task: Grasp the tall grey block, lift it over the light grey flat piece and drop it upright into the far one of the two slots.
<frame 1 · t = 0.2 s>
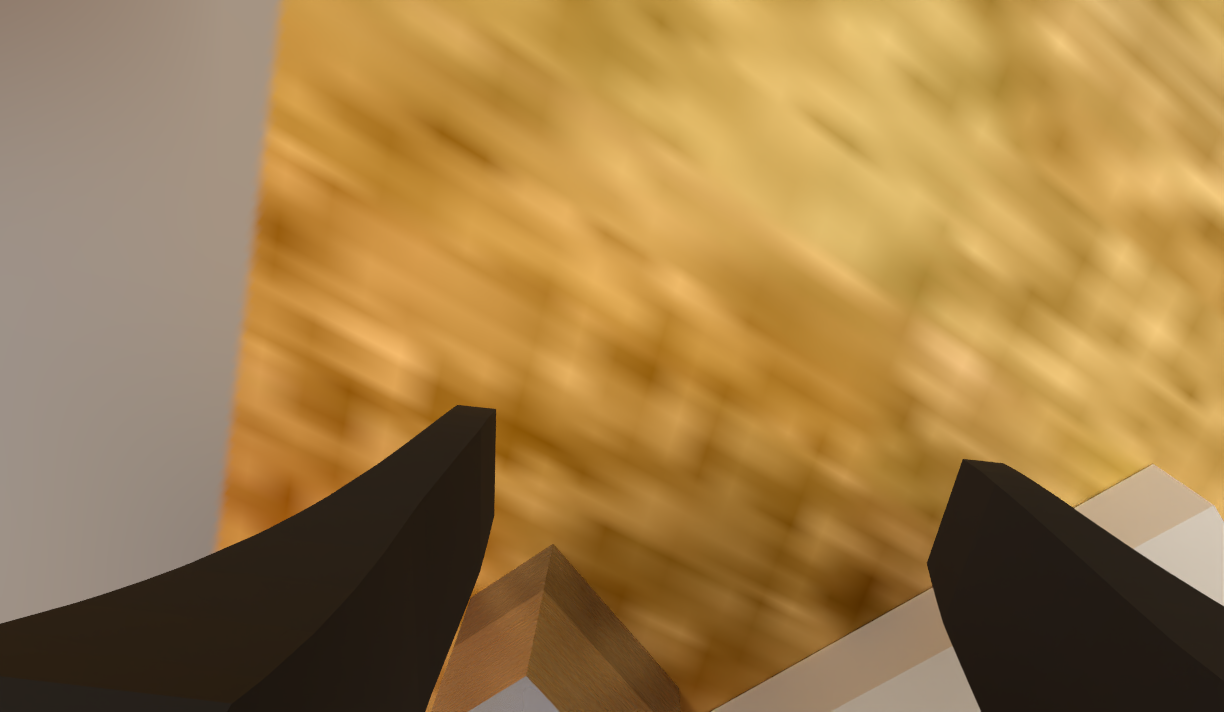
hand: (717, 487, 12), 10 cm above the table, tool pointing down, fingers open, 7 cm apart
tall grey block: (576, 642, 25), on the table
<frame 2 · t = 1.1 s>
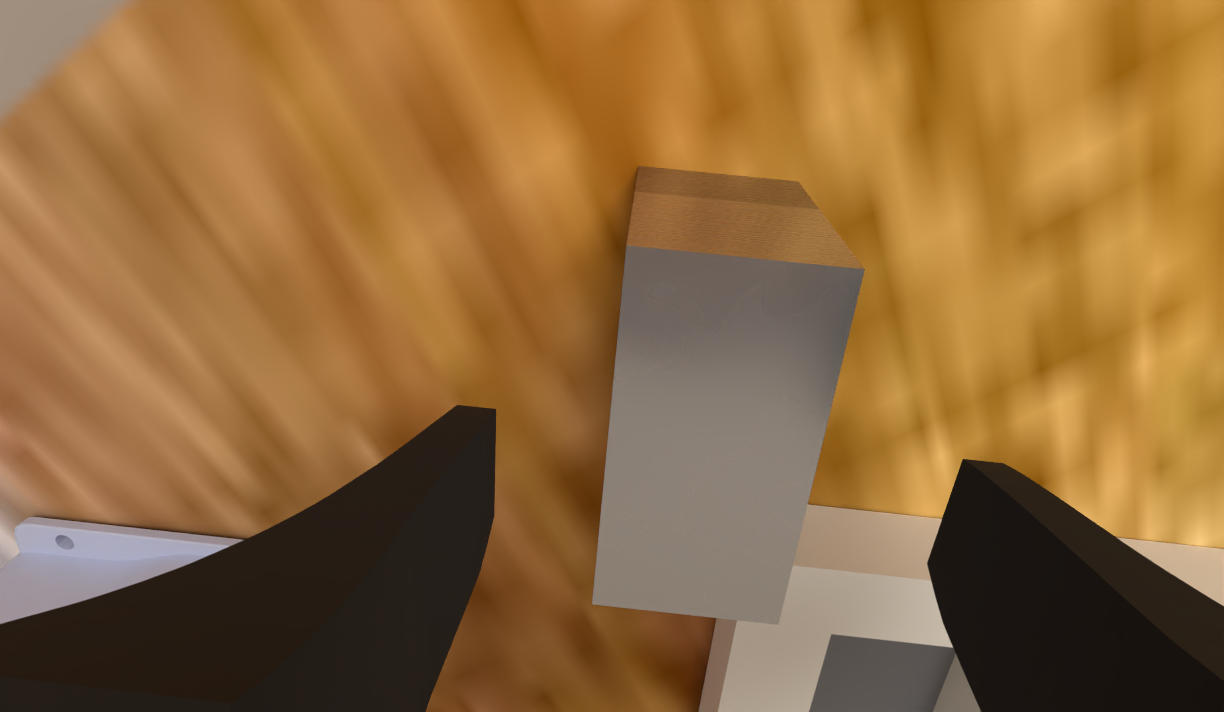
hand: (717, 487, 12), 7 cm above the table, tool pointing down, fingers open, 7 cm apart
tall grey block: (696, 319, 18), on the table
light grey flat piece: (980, 692, 22), on the table
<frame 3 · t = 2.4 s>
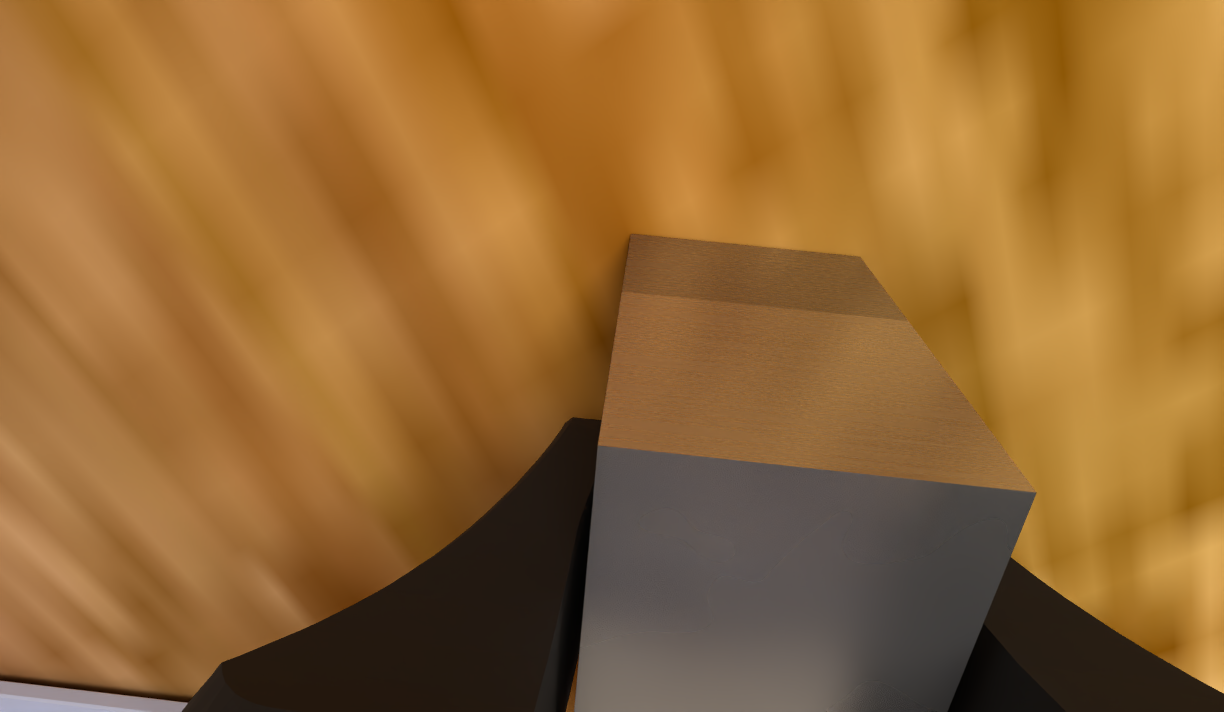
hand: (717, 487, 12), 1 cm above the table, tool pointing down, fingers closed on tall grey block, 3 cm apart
tall grey block: (712, 439, 13), on the table, touching gripper
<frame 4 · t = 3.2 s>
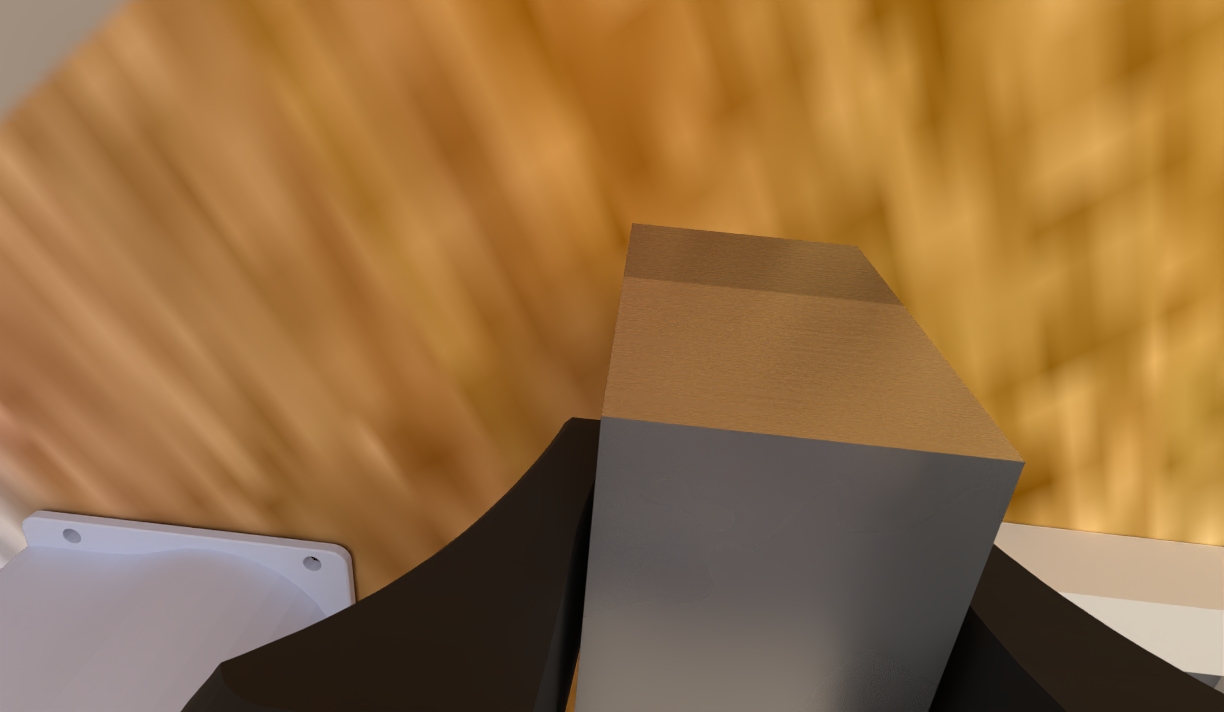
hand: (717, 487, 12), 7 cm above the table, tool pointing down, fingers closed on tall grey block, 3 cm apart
tall grey block: (712, 427, 13), point 5 cm above the table, touching gripper
light grey flat piece: (987, 690, 22), on the table
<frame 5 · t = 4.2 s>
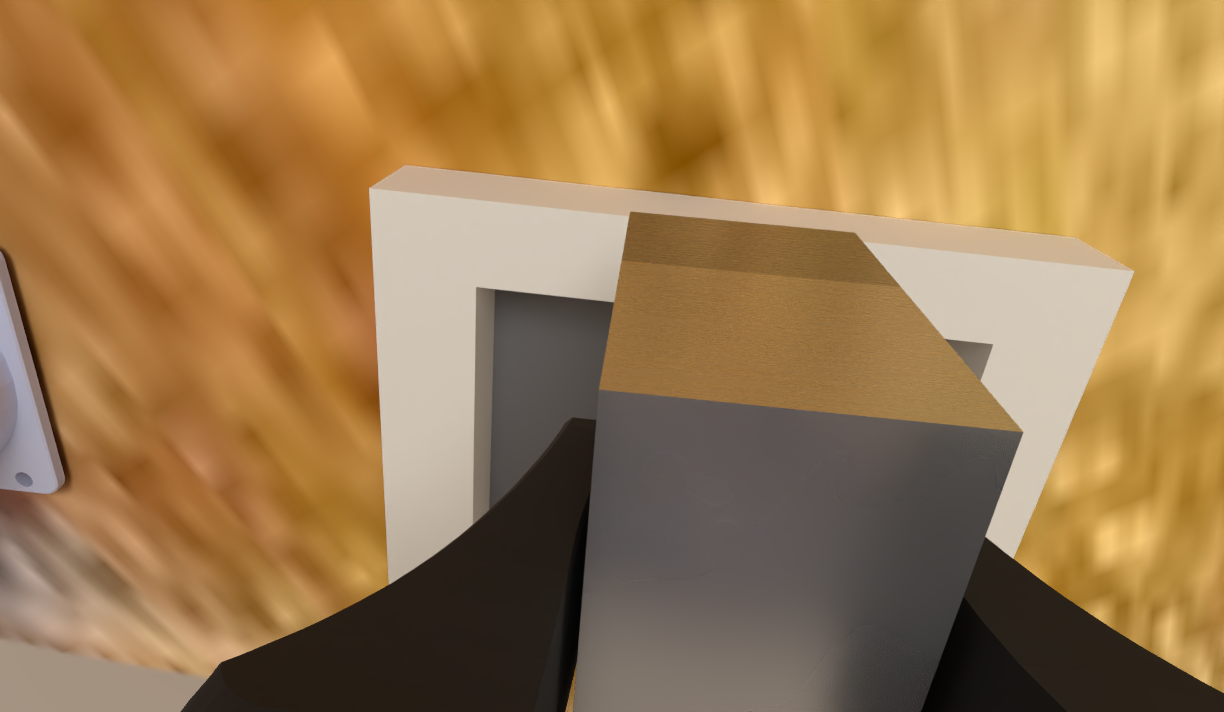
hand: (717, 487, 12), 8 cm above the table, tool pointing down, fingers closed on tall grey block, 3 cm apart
tall grey block: (711, 416, 13), point 7 cm above the table, touching gripper
light grey flat piece: (701, 416, 21), on the table
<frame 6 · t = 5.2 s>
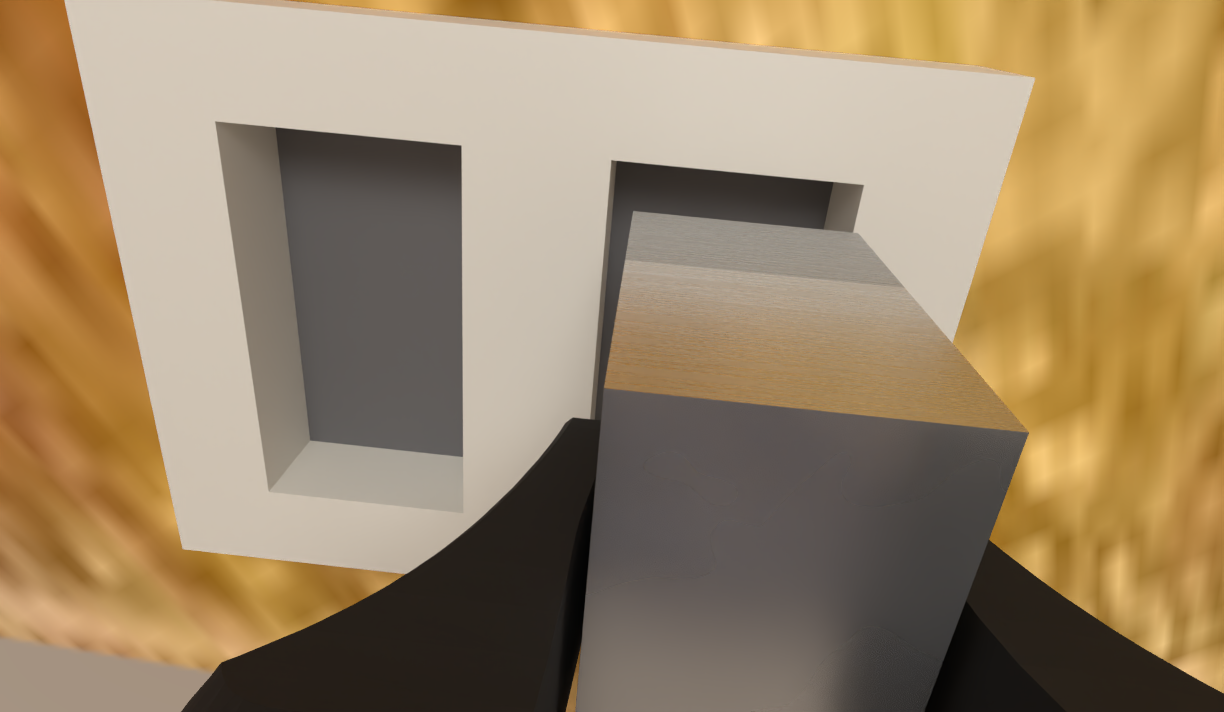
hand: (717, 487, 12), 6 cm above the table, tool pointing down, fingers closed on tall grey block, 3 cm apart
tall grey block: (713, 416, 13), point 5 cm above the table, touching gripper
light grey flat piece: (546, 311, 17), on the table
when the fingers open (3 cm above the table, at t = 6.2 s): tall grey block drops 1 cm, resting on light grey flat piece.
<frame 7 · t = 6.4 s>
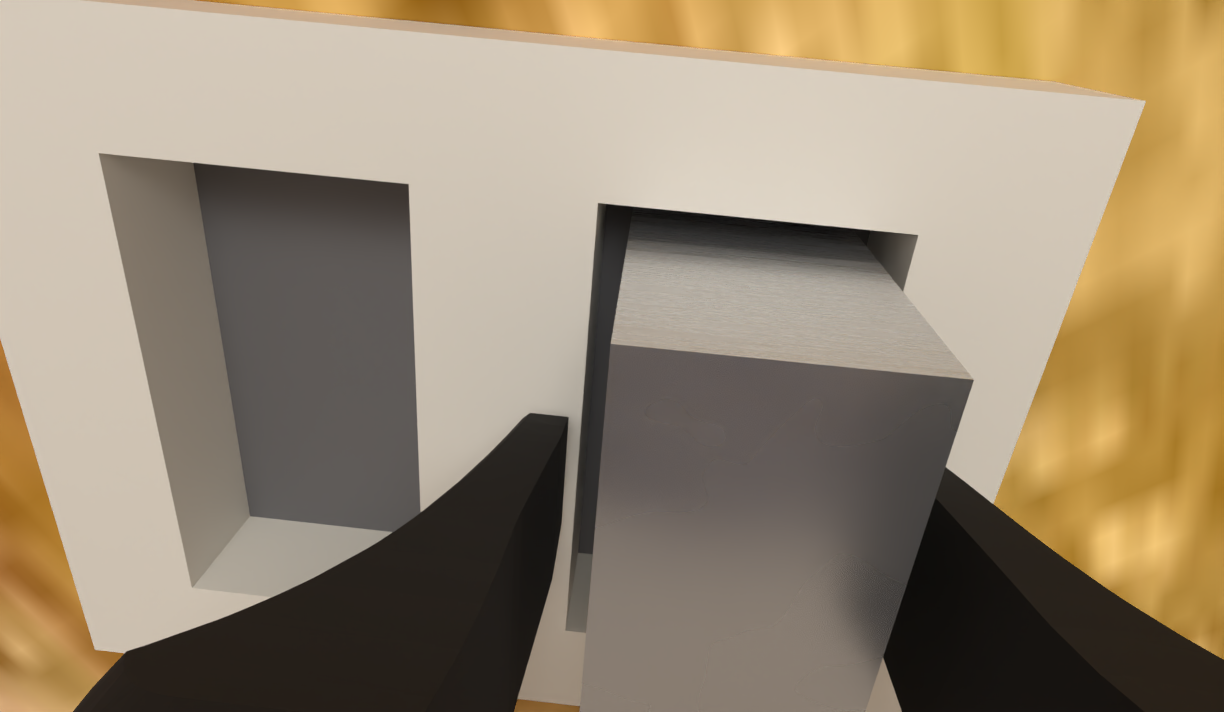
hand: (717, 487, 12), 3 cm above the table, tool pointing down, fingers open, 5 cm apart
tall grey block: (710, 387, 14), resting on light grey flat piece
light grey flat piece: (524, 371, 15), on the table
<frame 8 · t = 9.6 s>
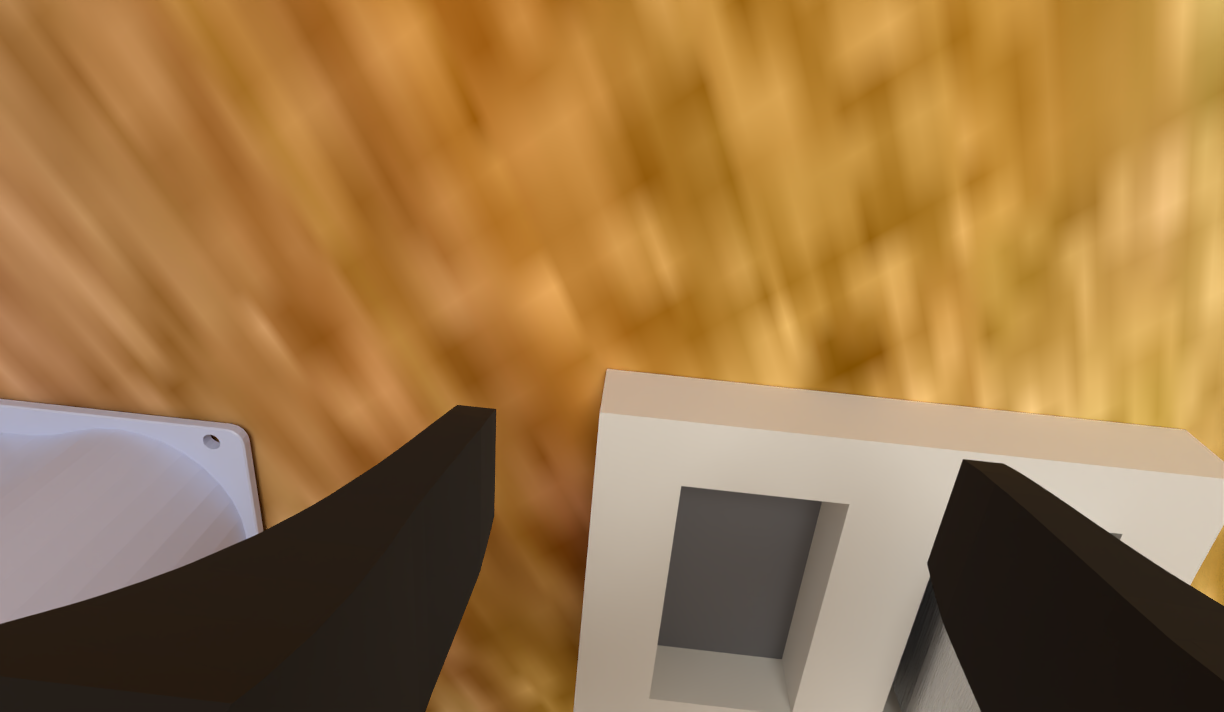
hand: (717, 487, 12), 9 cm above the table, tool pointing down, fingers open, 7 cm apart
tall grey block: (964, 578, 23), resting on light grey flat piece
light grey flat piece: (846, 564, 24), on the table
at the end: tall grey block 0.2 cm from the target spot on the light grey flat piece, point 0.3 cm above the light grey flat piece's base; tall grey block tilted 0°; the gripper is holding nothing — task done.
